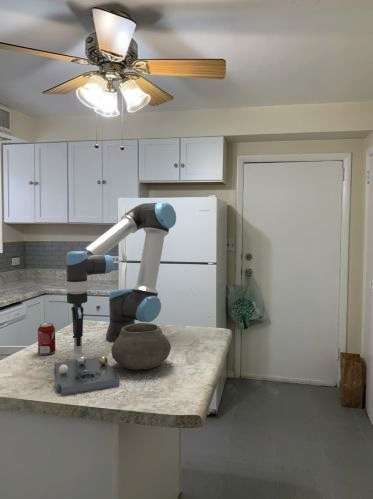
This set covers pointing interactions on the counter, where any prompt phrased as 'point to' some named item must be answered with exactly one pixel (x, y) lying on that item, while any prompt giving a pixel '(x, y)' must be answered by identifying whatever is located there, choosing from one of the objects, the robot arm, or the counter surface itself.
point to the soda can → (46, 339)
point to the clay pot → (140, 346)
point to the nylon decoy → (63, 369)
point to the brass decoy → (103, 360)
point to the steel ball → (81, 360)
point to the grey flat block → (85, 376)
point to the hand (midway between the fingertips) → (78, 353)
